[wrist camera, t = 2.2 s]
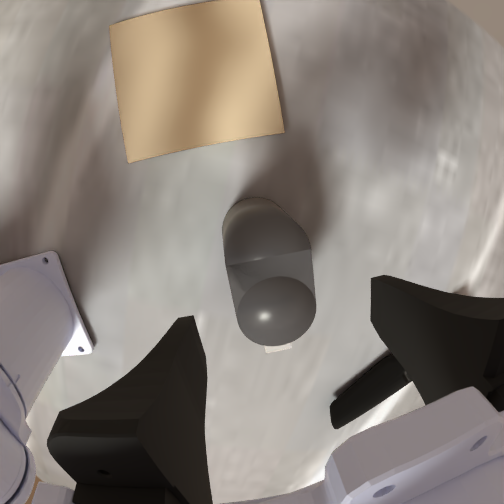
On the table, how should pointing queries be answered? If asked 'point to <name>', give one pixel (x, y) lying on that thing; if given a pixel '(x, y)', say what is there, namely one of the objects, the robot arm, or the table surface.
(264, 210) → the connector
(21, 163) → the table surface
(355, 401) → the electric trimmer
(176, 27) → the pad
